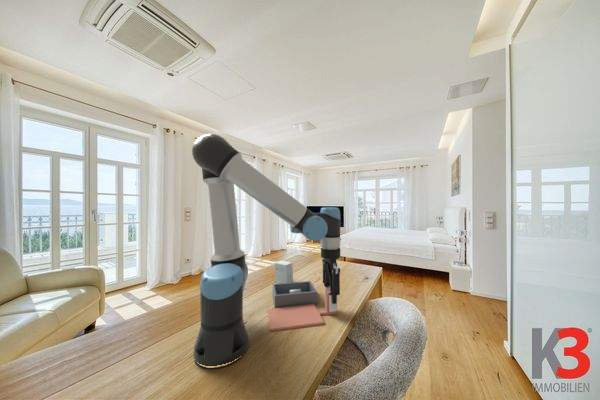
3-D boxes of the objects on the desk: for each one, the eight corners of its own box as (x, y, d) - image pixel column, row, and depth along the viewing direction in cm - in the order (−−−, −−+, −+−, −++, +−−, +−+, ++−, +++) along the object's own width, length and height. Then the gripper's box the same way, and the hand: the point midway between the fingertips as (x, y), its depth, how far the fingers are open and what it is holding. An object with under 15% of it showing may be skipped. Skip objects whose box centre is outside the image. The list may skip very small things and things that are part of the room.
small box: (293, 282, 112) (293, 262, 112) (286, 285, 107) (286, 265, 107) (281, 279, 116) (281, 260, 116) (274, 282, 111) (274, 262, 111)
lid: (269, 331, 70) (269, 307, 70) (267, 311, 83) (267, 290, 83) (342, 321, 75) (342, 299, 75) (330, 304, 88) (330, 285, 88)
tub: (274, 308, 85) (274, 295, 85) (272, 295, 96) (272, 284, 96) (317, 303, 88) (317, 291, 88) (310, 291, 100) (310, 281, 100)
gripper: (349, 252, 73) (349, 319, 73) (331, 242, 91) (331, 295, 91) (329, 253, 71) (329, 321, 71) (314, 242, 89) (315, 297, 89)
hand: (330, 307), depth 81 cm, fingers open, 5 cm apart
